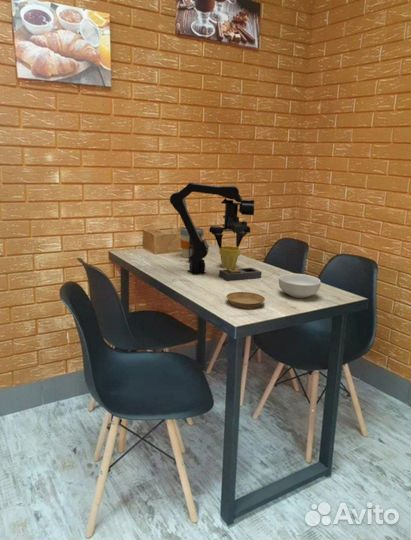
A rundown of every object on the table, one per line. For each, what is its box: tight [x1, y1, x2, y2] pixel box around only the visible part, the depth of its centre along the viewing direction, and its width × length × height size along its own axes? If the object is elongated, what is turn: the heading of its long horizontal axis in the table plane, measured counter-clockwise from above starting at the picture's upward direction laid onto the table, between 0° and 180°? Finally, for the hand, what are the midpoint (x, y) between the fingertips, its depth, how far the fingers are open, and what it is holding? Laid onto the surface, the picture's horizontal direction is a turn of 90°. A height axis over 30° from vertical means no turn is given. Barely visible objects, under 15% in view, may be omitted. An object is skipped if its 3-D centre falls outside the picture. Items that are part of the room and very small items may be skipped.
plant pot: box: [218, 245, 241, 269], centre depth 228 cm, size 10×10×10 cm
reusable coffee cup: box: [179, 227, 204, 259], centre depth 244 cm, size 13×13×15 cm
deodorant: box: [187, 233, 201, 264], centre depth 232 cm, size 6×6×15 cm
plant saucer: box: [225, 291, 266, 309], centre depth 174 cm, size 15×15×3 cm
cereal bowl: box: [278, 273, 321, 299], centre depth 187 cm, size 17×17×7 cm
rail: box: [218, 267, 263, 282], centre depth 210 cm, size 18×8×3 cm, turn 117°
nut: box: [226, 268, 239, 274], centre depth 208 cm, size 4×4×4 cm
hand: (228, 247), depth 210 cm, fingers open, 9 cm apart
